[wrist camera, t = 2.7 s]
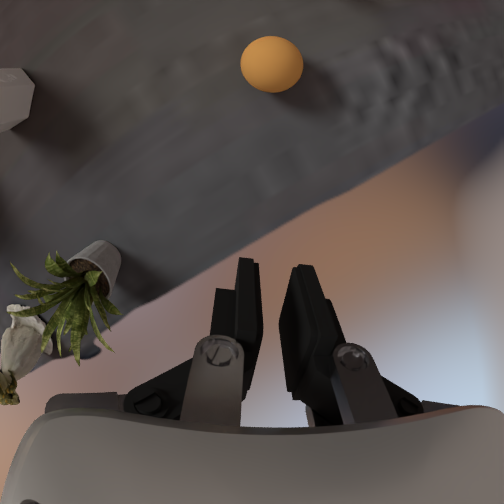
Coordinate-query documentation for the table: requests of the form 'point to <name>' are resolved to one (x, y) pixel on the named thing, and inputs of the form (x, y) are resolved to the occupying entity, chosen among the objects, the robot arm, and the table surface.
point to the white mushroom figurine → (20, 352)
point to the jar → (14, 97)
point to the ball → (271, 64)
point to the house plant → (76, 293)
